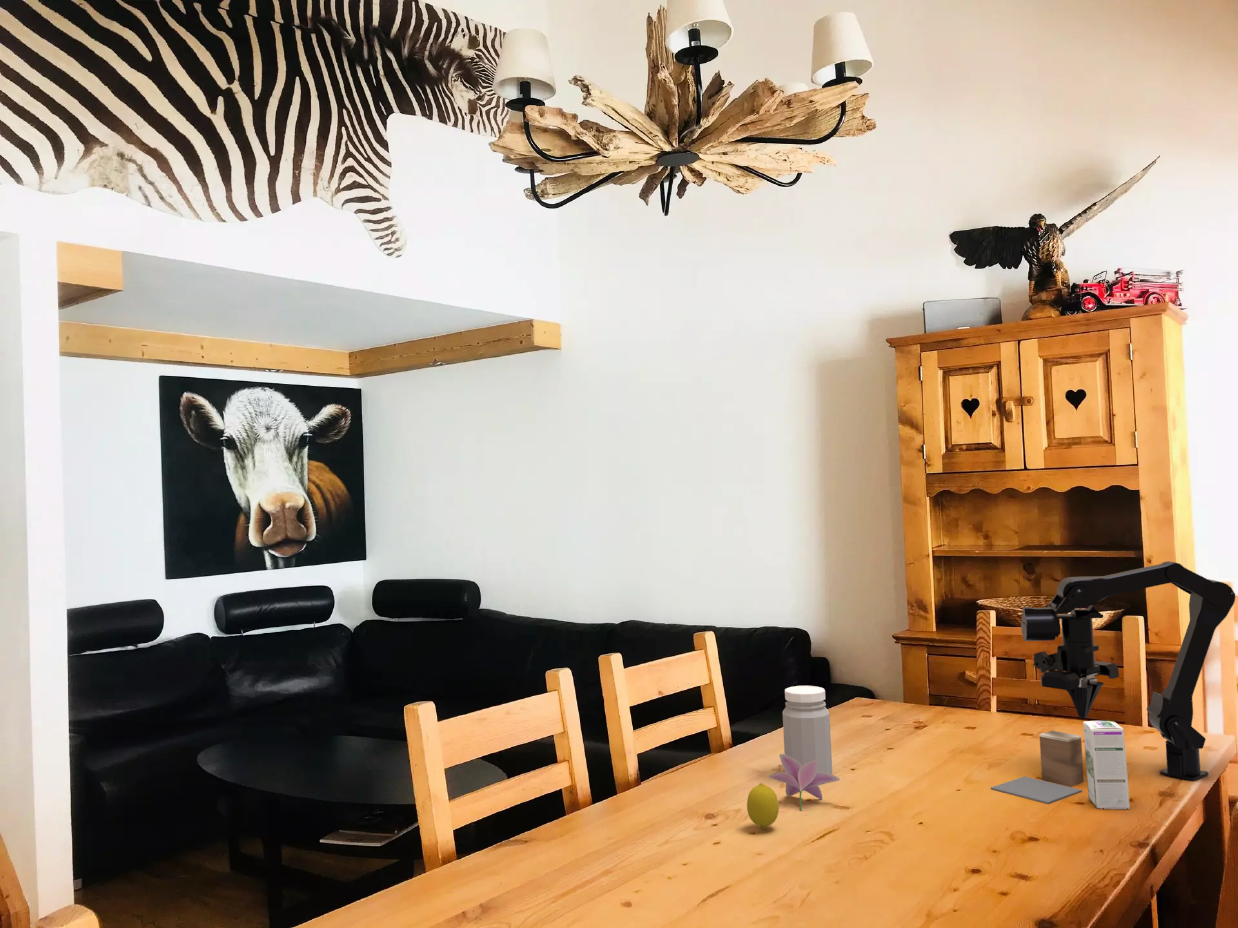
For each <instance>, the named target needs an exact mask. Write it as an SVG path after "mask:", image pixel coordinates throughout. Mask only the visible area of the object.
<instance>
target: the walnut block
mask: <svg viewBox="0 0 1238 928" xmlns="http://www.w3.org/2000/svg"><path fill="white" fill-rule="evenodd" d="M1039 749H1040V750H1039V751H1040V764H1041V765H1040V766H1041V767H1040V768H1041V780H1042V781H1046V782H1051V783H1055V784H1059V785H1063V786H1067V787H1071V788H1073V787H1074V786H1078V785H1080V784H1082V783H1085V781H1084V779H1085V778H1084V765H1083V764H1084V762H1083V761H1084V760H1083V745H1082V736H1081V735H1078V734H1074V733H1073V734H1072V733H1068V732H1063V731H1058V730H1050V731H1049V730H1048V731H1047V732H1043V733H1039Z"/></svg>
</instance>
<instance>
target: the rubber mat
mask: <svg viewBox="0 0 1238 928" xmlns="http://www.w3.org/2000/svg"><path fill="white" fill-rule="evenodd" d="M990 789H991V790H993V791H996V792H997V791H998V792H1001V793H1005V794H1008V795H1013V796H1016V797H1020V798H1024V799H1028V800H1032V801H1036V802H1039V803H1043V804H1047V805H1049V804H1052V803H1054V802H1057V801H1060V800H1062V799H1065V798H1069V797H1071V796H1073V795H1076V794H1079V793H1082V792H1083V790H1082V789H1079V788H1075V787H1069V786H1065V785H1061V784H1056V783H1052V782H1048V781H1044V780H1042V779H1037V778H1033V777H1029V776H1021V777H1019V778H1015V779H1012V780H1010V781H1006V782H1003V783H1000V784H997V785H993V786H991V787H990Z"/></svg>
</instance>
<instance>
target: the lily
mask: <svg viewBox="0 0 1238 928" xmlns="http://www.w3.org/2000/svg"><path fill="white" fill-rule="evenodd" d="M779 759H780V763H781V764H782V765H781V766H782V767H783V770H784V771H783V772H776V773H773V774H772V775H771V774H770V775H769V776H768V777H769V778H770V779H772V780H775V781H779V782H782V783H785V795H786V796H787V797H793V796H794V795H796V794H798V793H799V811H802V792H806V793H808V794H809V795H811V796H814V797H815V798H817V799H819V800H823V793H822V791H821V789H820V787H819V786H821V785H822V786H823V785H825V784H829V783H834V782H838V781H840V777H838V776H836V775H834V774H833V773H832V774H829V773H826V772H822V771H817V768H818V763H817V761H811V762H808V763H806V764H804V765H803V766H802V764H801V763H800V762H798V761H797V760H795V759H793V758H792V757H789V756H787V755H785V753H780V754H779Z"/></svg>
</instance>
